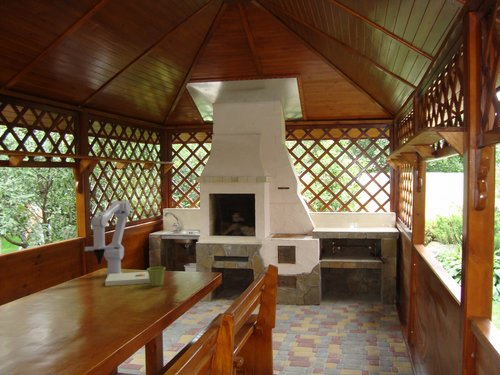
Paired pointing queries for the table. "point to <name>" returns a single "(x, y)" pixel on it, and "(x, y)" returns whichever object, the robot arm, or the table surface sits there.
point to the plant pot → (156, 275)
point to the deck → (127, 278)
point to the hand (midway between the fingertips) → (99, 263)
